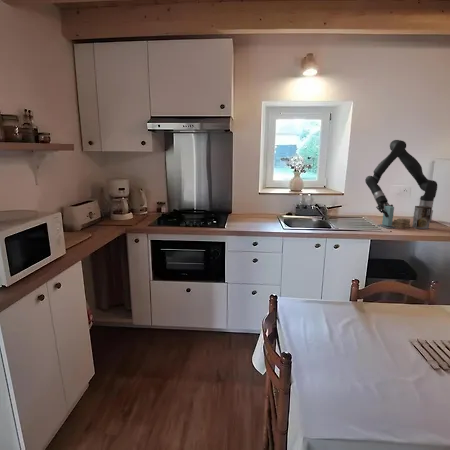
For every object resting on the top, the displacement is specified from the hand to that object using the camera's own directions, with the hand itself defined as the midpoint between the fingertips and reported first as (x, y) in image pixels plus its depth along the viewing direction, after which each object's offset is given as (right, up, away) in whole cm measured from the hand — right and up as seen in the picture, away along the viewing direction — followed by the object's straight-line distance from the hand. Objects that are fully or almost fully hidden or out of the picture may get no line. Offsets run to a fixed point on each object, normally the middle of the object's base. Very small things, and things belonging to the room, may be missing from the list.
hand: (390, 216), depth 240 cm
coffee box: (+23, -9, +1) cm, 25 cm away
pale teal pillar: (-1, -6, +3) cm, 7 cm away
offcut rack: (+10, -7, +8) cm, 14 cm away
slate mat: (-1, -8, +4) cm, 8 cm away
